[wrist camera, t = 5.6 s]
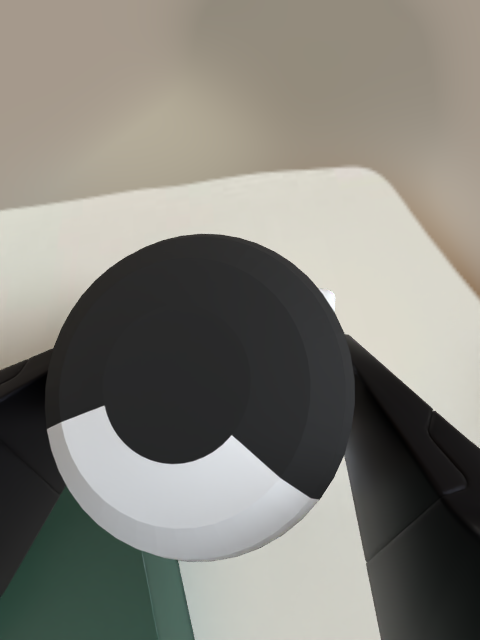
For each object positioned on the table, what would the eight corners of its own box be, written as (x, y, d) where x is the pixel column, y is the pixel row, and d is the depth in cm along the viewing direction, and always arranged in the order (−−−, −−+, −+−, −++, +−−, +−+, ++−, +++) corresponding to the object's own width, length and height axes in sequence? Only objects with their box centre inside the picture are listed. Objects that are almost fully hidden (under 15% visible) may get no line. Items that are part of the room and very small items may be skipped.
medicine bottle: (204, 310, 17) (46, 180, 5) (309, 322, 16) (419, 191, 4) (185, 417, 15) (-78, 572, 4) (298, 438, 14) (410, 749, 3)
